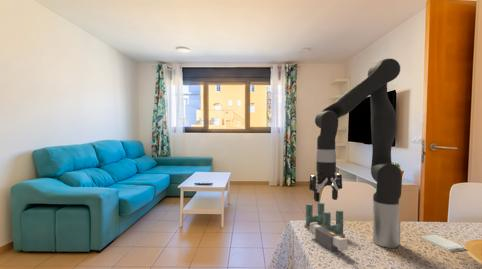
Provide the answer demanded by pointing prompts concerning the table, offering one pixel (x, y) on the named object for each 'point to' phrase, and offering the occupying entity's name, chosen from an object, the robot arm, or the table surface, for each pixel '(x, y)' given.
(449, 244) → the hard drive
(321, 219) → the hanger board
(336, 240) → the power strip
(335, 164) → the robot arm
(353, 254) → the table surface
